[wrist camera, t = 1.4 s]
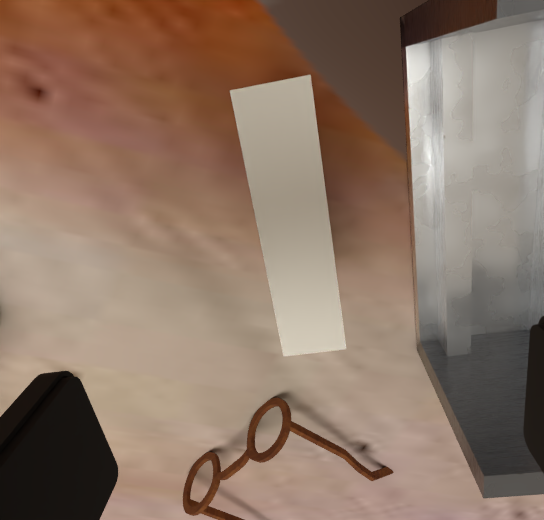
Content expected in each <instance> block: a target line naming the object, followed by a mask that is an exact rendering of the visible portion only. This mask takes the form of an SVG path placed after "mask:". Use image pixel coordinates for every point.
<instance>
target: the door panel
mask: <svg viewBox="0 0 544 520" xmlns="http://www.w3.org/2000/svg"><path fill="white" fill-rule="evenodd" d="M230 95H231V99H232V104H233V109H234V114H235V119H236V124H237V129H238V134H239V139H240V144H241V149H242V154H243V159H244V164H245V169H246V173H247V178H248V183H249V188H250V193H251V198H252V203H253V208H254V213H255V218H256V223H257V228H258V233H259V238H260V243H261V247H262V252H263V257H264V262H265V267H266V272H267V277H268V282H269V287H270V292H271V297H272V302H273V307H274V312H275V317H276V322H277V326H278V331H279V336H280V341H281V346H282V351H283V356H292V355H301V354H309V353H318V352H327V351H335V350H344V349H346V343H345V335H344V327H343V320H342V312H341V304H340V297H339V289H338V281H337V274H336V266H335V258H334V251H333V243H332V235H331V228H330V220H329V212H328V205H327V197H326V189H325V182H324V174H323V166H322V159H321V151H320V143H319V136H318V128H317V120H316V113H315V105H314V97H313V90H312V82H311V75H306V76H301V77H296V78H291V79H286V80H281V81H276V82H270V83H265V84H260V85H255V86H250V87H245V88H240V89H235V90H230Z"/></svg>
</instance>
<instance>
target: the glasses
mask: <svg viewBox="0 0 544 520" xmlns="http://www.w3.org/2000/svg"><path fill="white" fill-rule="evenodd" d="M275 406H279V407H280V409H281V411H282V416H283V422H282V429H281V432H280V435H279V437H278V439H277V440H276V442H275V443H274V444H273V445H272V447H270V448H269V449H268V450H267V451H265V452H263V453H258V452H257V451H256V448H255V432H256V428H257V425H258V423H259V421H260V419H261V418H262V416H263V415H264V414H265V413H266V412H267V411H268V410H269V409H271V408H273V407H275ZM290 431H291V432H293V433H295V434H297V435H299V436H301V437H303V438H305V439H307V440H309V441H311V442H313V443H315V444H316V445H318V446H320V447H322V448H324V449H326V450H328V451H330V452H332V453H334V454H336V455H338V456H340V457H342V458H344V459H345V460H346V461H347V462H348V463H349V464H350V465H351V466H352V467H353V468H354V469H355V470H356V471H357V472H359V473H360V474H362V475H363V476H365V477H366V478H368V479H369V480H371V481H374V480H376V479H379V478H382V477H384V476H387V475H390V474H392V473H393V471H392V470H391V469H389V468H388V467H385V468H382V469H379V470H376V471H373V472H371V471H370V470H368V469H367V468H365V467H364V466H363V465H361V464H360V463H359V462H358V461H357V460H355V459H354V458H353V457H352V456H351V455H350V454H349V453H348V452H347V451H346V450H345V449H343V448H341V447H339V446H337V445H335V444H334V443H332V442H330V441H328V440H326V439H324V438H322V437H320V436H319V435H317V434H315V433H313V432H311V431H309V430H307V429H305V428H304V427H302V426H300V425H298V424H296V423H294V422H292V421H291V412H290V408H289V406H288V404H287V403H286V402H285V401H284V400H282V399H280V398H272V399H270V400H268V401H267V402H266V403H265V404H264V405H262V406H261V407H260V408H259V409H258V410H257V412H256V413H255V415H254V416H253V418H252V420H251V423H250V426H249V430H248V437H247V450H246V451H245V453H244V454H243V455H242V456H241V457H240V458H239V459H238V460H237V461H235V462H234V463H233V464H232V465H230V466H229V467H228V468H227V469H225V470H224V471H222V472H221V467H220V461H219V457H218V456H217V454H215V453H212V452H208V453H205V454H204V455H203V456H202V457H200V458H199V459H198V460H197V461H196V463H195V464H194V465H193V467H192V468H191V470H190V472H189V474H188V477H187V480H186V483H185V487H184V493H183V507H184V510H185V512H186V513H187V514H189V515H193V516H195V515H198V514H200V513H201V514H204V515H207V516H209V517H212V518H215V519H218V520H244V519H241V518H239V517H236V516H233V515H231V514H228V513H225V512H223V511H220V510H217V509H215V508H212V507H209V506H208V505H209V504H210V503H211V501H212V500H213V498H214V496H215V494H216V492H217V490H218V487H219V484H220V480H226V479H228V478H229V477H231V476H232V475H233V474H235V473H236V472H237V471H238V470H240V469H241V468H242V467H243V466H244V465H245V464H246V463H247V462H248V460H249V458H250V459H252V460H254V461H257V462H260V463H261V462H266V461H268V460H270V459H271V458H273V457H274V456H275V455H276V454H277V453H278V452H279V451H280V450H281V449H282V447H283V446H284V444H285V442H286V440H287V438H288V435H289V432H290ZM209 460H211V461H212V464H213V479H212V483H211V486H210V489H209V491H208V493H207V495H206V496H205V498H204V499H203V500H202V501H201V502H200V503H199V502H196V501H193V500H191V499H190V492H191V486H192V483H193V480H194V477H195V475H196V473H197V471H198V470H199V468H200V467H201V466H202V465H203V464H204V463H205V462H207V461H209Z"/></svg>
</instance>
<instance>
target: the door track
mask: <svg viewBox="0 0 544 520" xmlns="http://www.w3.org/2000/svg"><path fill="white" fill-rule="evenodd" d="M400 27H401V47H402V67H403V86H404V103H405V104H404V106H405V125H406V143H407V144H406V145H407V164H408V184H409V203H410V223H411V242H412V262H413V281H414V301H415V320H416V340H417V351H418V353H419V356H420V358H421V360H422V362H423V365H424V367H425V369H426V371H427V373H428V376H429V378H430V380H431V382H432V385H433V387H434V389H435V391H436V394H437V396H438V398H439V400H440V402H441V405H442V407H443V409H444V411H445V414H446V416H447V418H448V420H449V423H450V425H451V427H452V429H453V431H454V434H455V436H456V438H457V440H458V443H459V445H460V447H461V449H462V452H463V454H464V456H465V458H466V460H467V463H468V465H469V467H470V469H471V472H472V474H473V476H474V478H475V481H476V483H477V485H478V487H479V489H480V492H481V494H482V496H483V498H495V497H509V496H523V495H537V494H544V473H543V472H542V470H541V469H540V467H539V465H538V464H537V462H536V461H535V459H534V457H533V456H532V454H531V453H530V451H529V449H528V447H527V445H526V442H525V439H524V434H523V426H524V411H525V397H526V382H527V368H528V353H529V339H530V329H531V327H532V325H535V324H538V323H539V320H540V318H541V317H543V316H544V0H428V1H427V2H425V3H424V4H422V5H420V6H419V7H417V8H415V9H414V10H412V11H410V12H409V13H407V14H405V15H404V16H402V17H400Z"/></svg>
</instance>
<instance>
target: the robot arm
mask: <svg viewBox="0 0 544 520" xmlns="http://www.w3.org/2000/svg"><path fill="white" fill-rule="evenodd" d="M523 434H524V439H525V442H526V445H527V447H528V449H529V451H530V453H531V454H532V456H533V457H534V459H535V461H536V462H537V464H538V465H539V467H540V469H541V470H542V472H543V473H544V316H543V317H541V318H540V320H539V323H538V324H535V325H532V327H531V329H530V339H529V353H528V368H527V382H526V397H525V411H524V426H523ZM117 478H118V466H117V463H116V461H115V458H114V456H113V454H112V451H111V449H110V447H109V444H108V442H107V440H106V438H105V435H104V433H103V431H102V428H101V426H100V424H99V421H98V419H97V417H96V415H95V412H94V410H93V408H92V405H91V403H90V401H89V398H88V396H87V394H86V392H85V389H84V387H83V385H82V382H81V381H80V379H79V378H78V377H74V376H73V374H72V373H70V372H69V371H61V372H52V373H43V374H40V375H38V376H37V377H36V378H35V379H34V380H33V381H32V382H31V383H30V385H29V386H28V387H27V388H26V389H25V390H24V391H23V392H22V393H21V395H20V396H19V397H18V398H17V399H16V400H15V401H14V402H13V403H12V405H11V406H10V407H9V408H8V409H7V410H6V411H5V412H4V414H3V415H2V416H1V417H0V520H99V519H100V517H101V515H102V513H103V511H104V508H105V506H106V504H107V502H108V500H109V498H110V495H111V493H112V491H113V489H114V487H115V484H116V482H117Z"/></svg>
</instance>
